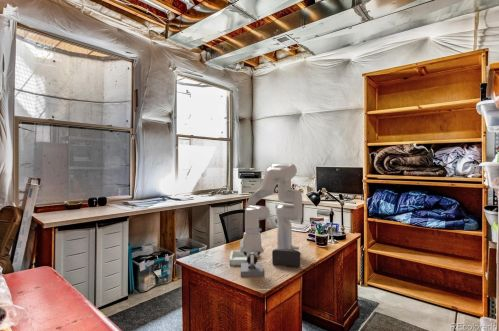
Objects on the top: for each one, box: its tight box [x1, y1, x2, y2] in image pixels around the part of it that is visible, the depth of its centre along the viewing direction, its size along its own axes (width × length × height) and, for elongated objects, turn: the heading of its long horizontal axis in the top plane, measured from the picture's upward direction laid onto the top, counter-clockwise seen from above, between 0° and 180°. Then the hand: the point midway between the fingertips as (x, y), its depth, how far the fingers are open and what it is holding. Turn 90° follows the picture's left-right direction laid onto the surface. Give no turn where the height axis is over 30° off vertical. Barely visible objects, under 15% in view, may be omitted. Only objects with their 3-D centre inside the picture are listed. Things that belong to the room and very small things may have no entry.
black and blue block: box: [271, 248, 301, 268], centre depth 164 cm, size 16×5×9 cm, turn 78°
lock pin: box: [249, 253, 255, 269], centre depth 154 cm, size 3×3×9 cm
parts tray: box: [229, 250, 253, 266], centre depth 171 cm, size 14×16×4 cm
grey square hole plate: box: [240, 262, 264, 277], centre depth 154 cm, size 12×12×3 cm
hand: (252, 263), depth 154 cm, fingers closed on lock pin, 3 cm apart
